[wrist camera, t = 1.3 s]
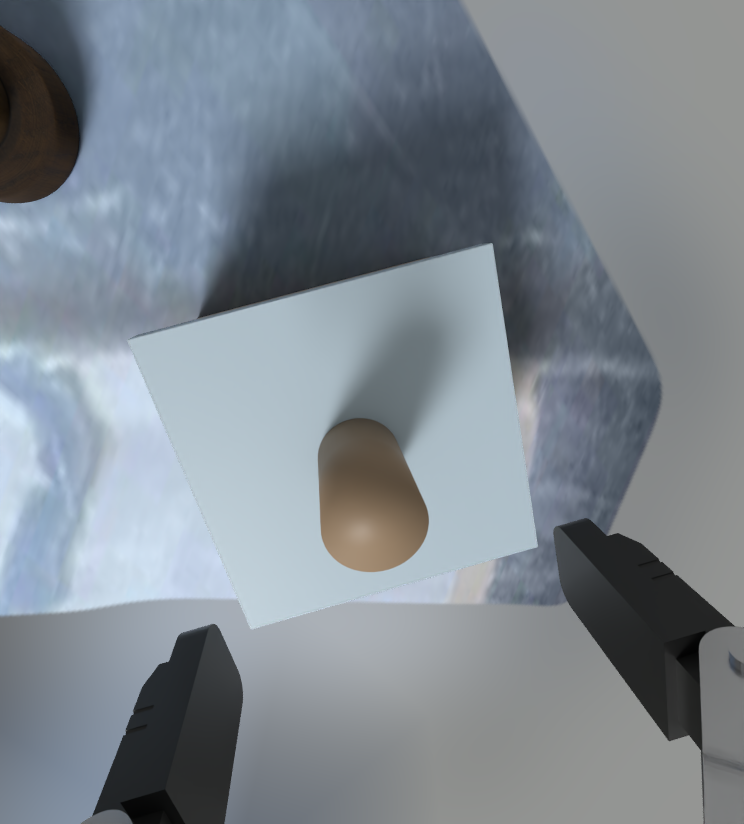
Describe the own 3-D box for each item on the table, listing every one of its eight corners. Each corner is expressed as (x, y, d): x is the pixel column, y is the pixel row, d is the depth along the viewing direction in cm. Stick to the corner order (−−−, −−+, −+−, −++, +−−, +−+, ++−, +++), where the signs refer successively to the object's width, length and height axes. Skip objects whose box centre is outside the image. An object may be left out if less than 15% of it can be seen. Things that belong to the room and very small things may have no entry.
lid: (136, 335, 17) (54, 377, 12) (483, 243, 18) (562, 241, 12) (253, 613, 22) (233, 740, 16) (528, 534, 22) (602, 631, 17)
